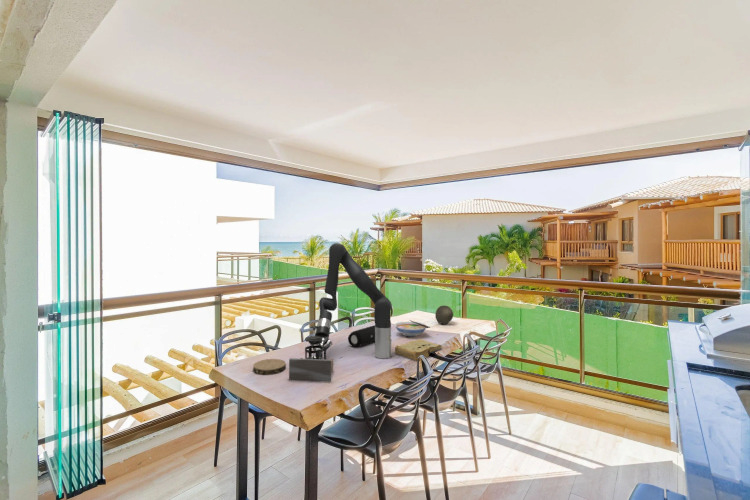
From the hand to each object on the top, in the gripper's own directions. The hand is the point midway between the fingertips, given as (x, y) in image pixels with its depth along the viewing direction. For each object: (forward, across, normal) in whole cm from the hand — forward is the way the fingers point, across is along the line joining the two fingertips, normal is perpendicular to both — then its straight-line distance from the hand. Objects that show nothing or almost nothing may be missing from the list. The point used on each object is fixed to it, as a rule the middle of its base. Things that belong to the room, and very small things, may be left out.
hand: (317, 357), depth 186 cm
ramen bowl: (-46, +50, +54) cm, 87 cm away
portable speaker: (-30, +20, +38) cm, 52 cm away
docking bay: (+11, 0, -3) cm, 11 cm away
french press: (+7, 0, +1) cm, 7 cm away
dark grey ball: (-73, +77, +81) cm, 134 cm away
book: (-18, +54, +26) cm, 62 cm away
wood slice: (+8, -24, +1) cm, 25 cm away
